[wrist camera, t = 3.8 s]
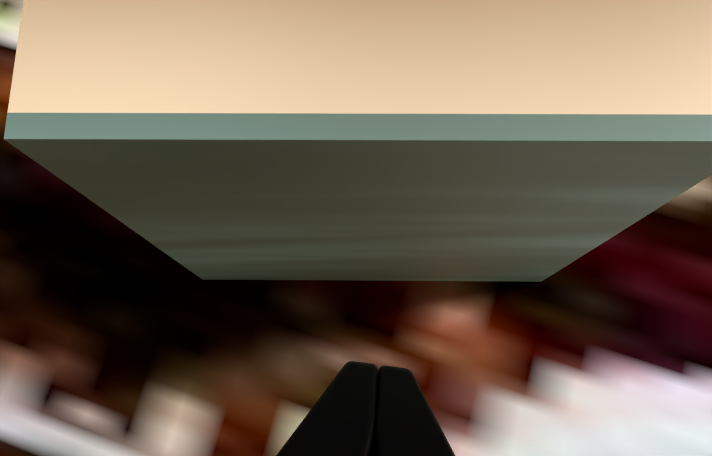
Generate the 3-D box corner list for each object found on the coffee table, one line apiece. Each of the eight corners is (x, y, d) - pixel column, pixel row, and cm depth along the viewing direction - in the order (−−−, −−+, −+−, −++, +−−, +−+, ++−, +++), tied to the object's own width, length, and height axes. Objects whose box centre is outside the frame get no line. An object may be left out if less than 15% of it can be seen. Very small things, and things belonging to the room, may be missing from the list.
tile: (541, 281, 16) (764, 141, 7) (202, 279, 16) (3, 139, 7) (532, 142, 17) (722, -140, 8) (211, 141, 17) (43, -138, 8)
